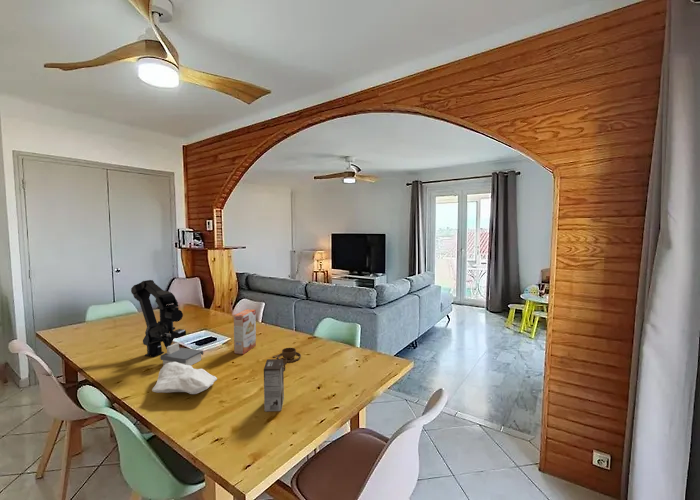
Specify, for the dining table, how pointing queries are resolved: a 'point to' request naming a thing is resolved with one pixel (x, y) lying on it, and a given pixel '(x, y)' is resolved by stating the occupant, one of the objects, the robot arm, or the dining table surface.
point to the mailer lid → (179, 353)
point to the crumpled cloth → (182, 379)
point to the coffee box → (273, 385)
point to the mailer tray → (188, 360)
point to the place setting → (288, 355)
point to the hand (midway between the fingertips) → (167, 348)
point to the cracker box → (244, 331)
